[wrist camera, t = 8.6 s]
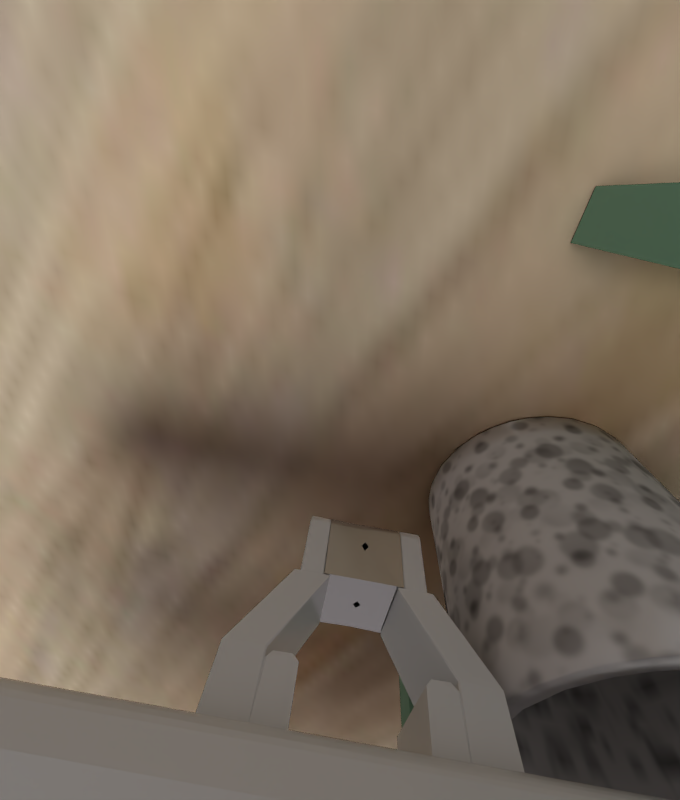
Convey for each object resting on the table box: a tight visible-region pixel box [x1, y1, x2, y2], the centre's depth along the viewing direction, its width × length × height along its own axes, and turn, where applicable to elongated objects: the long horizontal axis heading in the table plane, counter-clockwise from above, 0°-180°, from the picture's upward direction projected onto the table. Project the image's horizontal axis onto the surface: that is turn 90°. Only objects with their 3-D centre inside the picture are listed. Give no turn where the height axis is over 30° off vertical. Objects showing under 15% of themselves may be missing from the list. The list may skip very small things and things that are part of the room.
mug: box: [429, 417, 680, 800], centre depth 10 cm, size 10×7×7 cm, turn 67°
